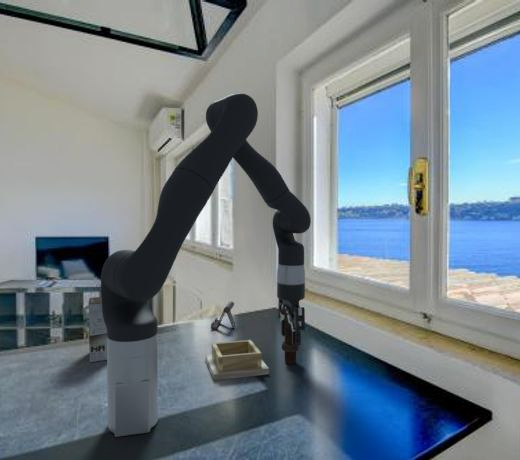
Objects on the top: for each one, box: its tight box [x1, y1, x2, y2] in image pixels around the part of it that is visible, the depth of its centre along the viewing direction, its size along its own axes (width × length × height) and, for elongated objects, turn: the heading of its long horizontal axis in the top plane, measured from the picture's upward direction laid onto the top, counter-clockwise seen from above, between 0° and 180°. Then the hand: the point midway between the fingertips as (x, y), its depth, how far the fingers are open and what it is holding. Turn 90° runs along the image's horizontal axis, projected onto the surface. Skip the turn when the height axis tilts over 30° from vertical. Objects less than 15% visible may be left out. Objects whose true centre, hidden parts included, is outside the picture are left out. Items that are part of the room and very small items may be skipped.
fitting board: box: [205, 339, 270, 381], centre depth 103 cm, size 14×14×5 cm
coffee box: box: [88, 296, 107, 363], centre depth 111 cm, size 9×6×16 cm
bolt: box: [281, 307, 300, 365], centre depth 106 cm, size 6×5×15 cm
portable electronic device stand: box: [210, 301, 237, 331], centre depth 140 cm, size 9×8×8 cm
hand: (290, 340), depth 106 cm, fingers open, 8 cm apart
